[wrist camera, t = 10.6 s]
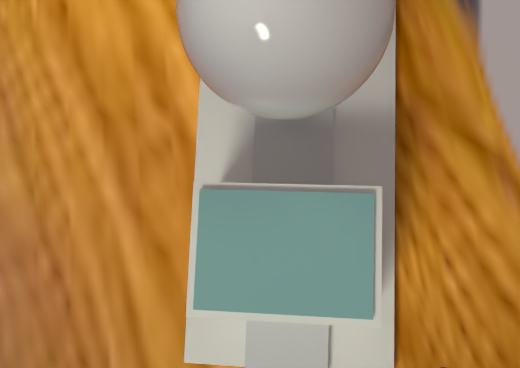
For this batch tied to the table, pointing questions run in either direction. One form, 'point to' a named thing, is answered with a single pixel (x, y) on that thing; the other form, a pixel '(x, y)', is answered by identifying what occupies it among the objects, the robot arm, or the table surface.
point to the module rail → (295, 234)
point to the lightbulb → (285, 51)
